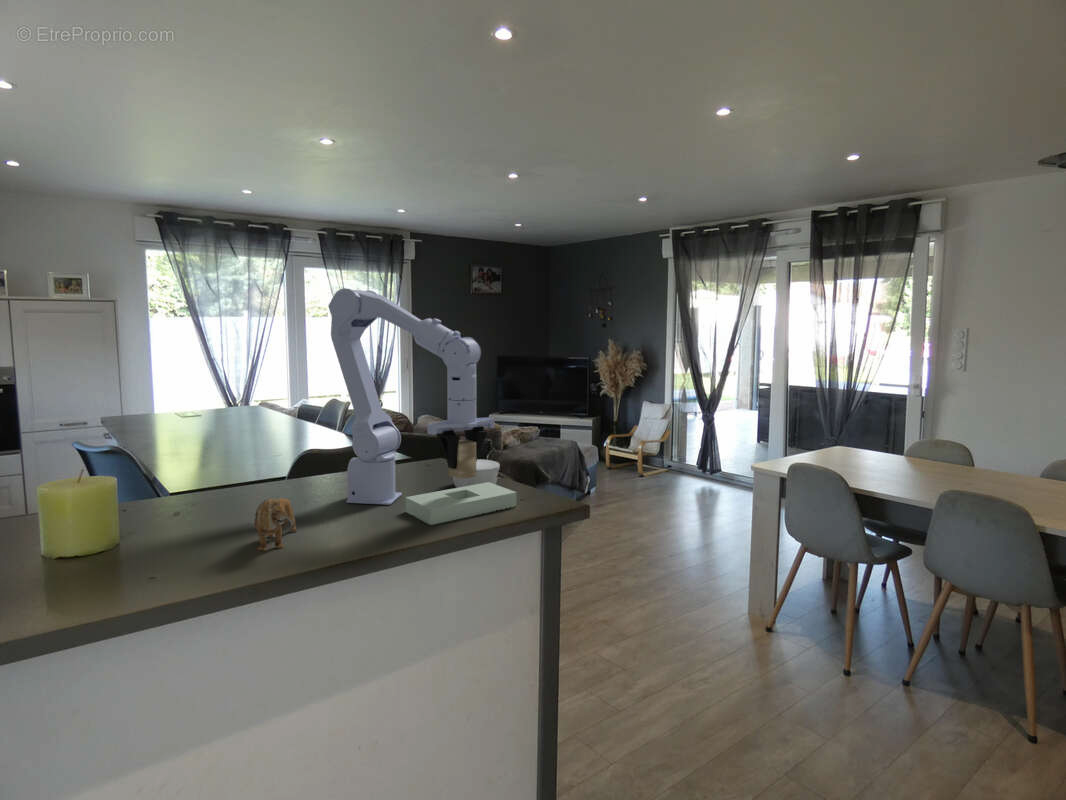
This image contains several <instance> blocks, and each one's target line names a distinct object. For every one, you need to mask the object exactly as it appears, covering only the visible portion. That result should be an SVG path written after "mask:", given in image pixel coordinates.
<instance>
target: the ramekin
mask: <svg viewBox="0 0 1066 800" xmlns="http://www.w3.org/2000/svg"><path fill="white" fill-rule="evenodd" d="M500 467H501V465H500V462H498V461H495V460H491V459H481V458H480V459H478V458H477V462H476V477H471V478H465V479H457V478H454V477H452V479H453V484H454V486H455V488H459V487H465V486H470V485H476V484H481V483H487V482H490V483H493V484H495V485H497V481H498V476H499V470H500ZM496 476H497V477H496Z"/></svg>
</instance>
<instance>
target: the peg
mask: <svg viewBox="0 0 1066 800" xmlns="http://www.w3.org/2000/svg"><path fill="white" fill-rule="evenodd" d="M448 476H449V477H450V478H453V477H454V478H457V479H465V478H471V477H476V442H474V441H470V440H467V439H466V438H464V439H459V443H458V449H457V467H456V469H452V468H449V467H448Z"/></svg>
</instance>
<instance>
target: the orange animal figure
mask: <svg viewBox="0 0 1066 800" xmlns="http://www.w3.org/2000/svg"><path fill="white" fill-rule="evenodd" d="M288 522H290V528H289V532H290V533H295V531H296V532H297V527H296V519H295V517H294V510H293V507H292V503H291V501H290V500H288V499H286V498H284V497H283V498H278V499H276V498H269V499H265V500H264V501H262V502H261V503H260V504H259V505H258V507H257V509H256V510H255V516H254V526H255V527H254V528H255V530H257V535H258V538H259V539H258V540H259V544H260V545H259V546H258V547H257V550H258V551H259V550H264V551H266V549H267V547H268V546H267V543H266V536H267V537H268V538H274V546H275V549H276V548H281V549H283V548H284V544H283V543H282V534H283V528H282V527H286V526H287V525H288Z"/></svg>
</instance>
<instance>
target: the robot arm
mask: <svg viewBox="0 0 1066 800" xmlns="http://www.w3.org/2000/svg"><path fill="white" fill-rule="evenodd" d="M327 307H328V308H329V309H328V310H329V313H330V316H331V327H330V337H331V342H332V344H333V348H334V351H335V353H336V357H337V360H338V364H339V366H340V367H339V368H340V369H341V373H342V376H343V379H344V380H343V381H344V383H345V386H346V389H347V393H348V396H349V398H350V403H351V406H352V408H353V411H354V415H355V419H354V421H353V422H352V425H351V427H350V431H351V434H352V441H351V442H352V443H351V445H352V450H353V452H354V454H355V455H356V456H357V457H352V458H351V459H349V462H348V464H347V470H346V480H347V481H346V482H347V484H346V485H347V500H346V503H347V504H348V503H349V504H364V505H365V504H366V505H368V504H369V505H392V504H393V503H394V502H395V501H396V500H398V498H400V497H401V496H402V494H403V493H402V491H401V492H399V491H396V456H397V455H396V453H397V450H398V449H399V448H400V446H401V442H402V435H401V433H400V430H399V429H398V427H397V426H396V425H395V424H394V422H393V420H392V417H391V416H390V414H388V413H387V412H386V411H384V410H383V408H382V406H381V403H380V402H381V401H380V399H379V396H378V392H377V390H376V389H377V388H376V387H375V383H374V380H373V377H372V373H371V370H370V367H369V364H368V360H367V358H366V354H365V351H364V348H363V344H362V342H361V337H362V336H363V334H364V332H365V330H366V329H368V328H369V326H371V325H372V324H373V323H374V322H375V321H376V320H377V319H378V318H381V319H382V320H385V321H387V322H388V323H391V324H392V325H394V326H396V327H398V328H400V329H402V330H403V331H406V332H408V333H409V334H411V335H413V340H414V342H415V343H416V344H417V345H418V346H420V347H422V348H423V349H425V350H427V351H428V352H430V353H432V354H433V355H436V356H438V357H439V358H441V360H442V361H443V363H444V364H445V366H446V369H447V370H446V371H447V373H446V376H447V377H446V381H447V383H446V384H447V385H446V386H447V396H446V397H447V402H446V403H447V408H446V409H447V410H446V411H447V420H446V419H445V420H442V421H436V422H430V423H427V425H426V426H427V427H426V428H427V435H431V436H434V435H436V437H437V439H438V441H439V444H440V445H441V447H442V449H443V452H444V456H445V458H446V462H447V466H448V469H449V468H452V469H456V467H457V449H458V443H459V440H461V436H460V435H457V433H456V432H462V431H463V432H464V439H467V440H470V441H474V442H476V462H477V459H478V457H479V454H480V451H481V448H482V445H483V443H484V441H485V439H486V438H487V437H488V430H486V429H494V428H495V425H496V424H495V422H496V421H495V420H496V419H495V418H493V417H477V364H478V362H479V361H480V358H481V356H482V350H481V346H480V345H479V343H478V342H477V341H476V340H475V339H474V338H473V337H470V336H464V337H462V336H461V332H460V331H458V330H452V329H450V328H448V327H447V326H445V325H443V324H442V320H440V319H438V318H433V319H432V318H431V317H430V318H425V319H420V318H418V317H417V316H416V315H414V314H412V313H410V311H408V310H406V309H404V308H402V307H401V306H399V305H398V304H397V303H395V302H394V301H392V300H390V299H388V297H386V296H384V295H382V294H379V293H377V292H376V291H373V290H359V289H352V288H351V289H350V288H347V287H346V288H344V287H343V288H341V289H338V290H337V291H336V292H335V293H334V295H333V296H332V298H331V300H330V302H329V304H328V306H327Z"/></svg>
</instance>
